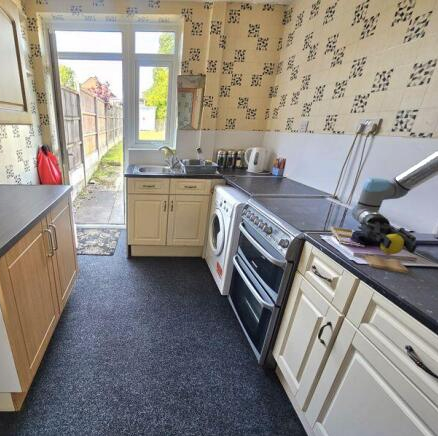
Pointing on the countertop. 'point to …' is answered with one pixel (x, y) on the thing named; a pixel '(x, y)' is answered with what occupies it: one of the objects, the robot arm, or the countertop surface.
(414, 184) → the robot arm
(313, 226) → the countertop surface
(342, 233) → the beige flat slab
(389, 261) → the board
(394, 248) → the lemon
